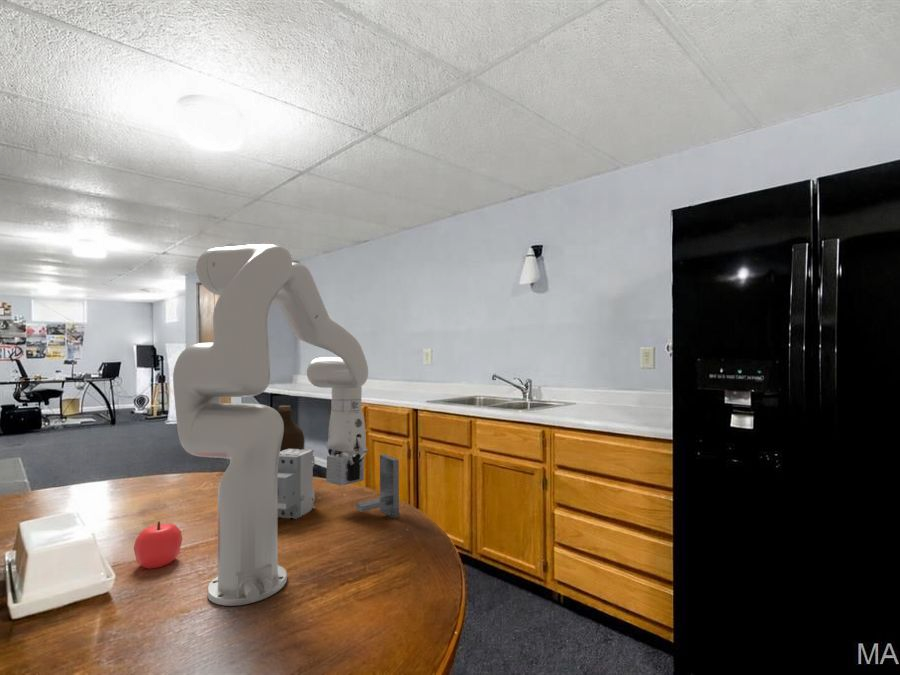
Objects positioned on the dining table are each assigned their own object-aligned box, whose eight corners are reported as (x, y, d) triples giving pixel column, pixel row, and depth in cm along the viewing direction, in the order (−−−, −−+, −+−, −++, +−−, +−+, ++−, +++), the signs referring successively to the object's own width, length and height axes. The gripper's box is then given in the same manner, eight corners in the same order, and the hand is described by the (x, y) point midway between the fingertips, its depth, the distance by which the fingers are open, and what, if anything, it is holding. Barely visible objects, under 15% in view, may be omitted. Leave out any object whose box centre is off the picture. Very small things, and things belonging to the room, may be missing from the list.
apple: (134, 560, 89) (134, 519, 89) (181, 550, 94) (181, 511, 94) (132, 577, 83) (133, 533, 83) (183, 565, 87) (183, 523, 87)
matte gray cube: (341, 485, 111) (341, 459, 111) (326, 481, 114) (326, 456, 115) (364, 480, 116) (364, 454, 117) (349, 476, 120) (349, 452, 120)
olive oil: (305, 497, 127) (305, 407, 127) (264, 502, 123) (264, 409, 123) (302, 486, 136) (302, 402, 137) (264, 491, 132) (264, 404, 133)
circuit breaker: (253, 526, 106) (253, 461, 106) (288, 505, 120) (288, 448, 120) (281, 529, 104) (281, 463, 105) (314, 507, 118) (314, 449, 118)
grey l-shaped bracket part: (399, 517, 111) (398, 459, 111) (365, 526, 106) (364, 465, 106) (385, 509, 116) (385, 454, 117) (352, 517, 111) (352, 459, 112)
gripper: (380, 407, 114) (379, 480, 113) (337, 403, 125) (336, 470, 124) (356, 409, 108) (355, 486, 107) (314, 405, 119) (312, 475, 118)
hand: (345, 477), depth 115 cm, fingers closed on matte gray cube, 6 cm apart
